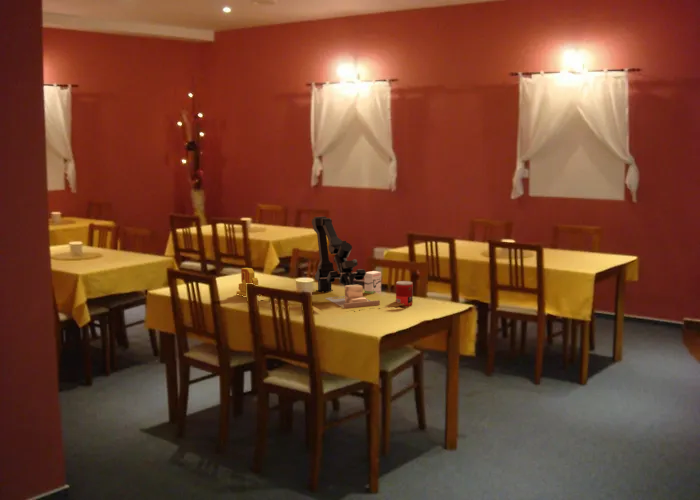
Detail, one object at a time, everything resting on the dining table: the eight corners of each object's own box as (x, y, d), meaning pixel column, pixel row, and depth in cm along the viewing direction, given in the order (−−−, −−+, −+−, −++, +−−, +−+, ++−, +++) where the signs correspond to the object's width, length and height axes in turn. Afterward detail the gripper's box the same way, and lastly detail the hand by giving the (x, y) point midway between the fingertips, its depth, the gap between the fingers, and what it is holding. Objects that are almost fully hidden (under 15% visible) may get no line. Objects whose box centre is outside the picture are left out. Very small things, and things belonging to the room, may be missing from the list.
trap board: (324, 301, 371) (324, 298, 371) (358, 297, 378) (358, 294, 378) (338, 308, 355) (338, 305, 355) (373, 304, 362) (373, 301, 362)
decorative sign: (263, 300, 373) (263, 270, 371) (258, 301, 371) (258, 271, 369) (241, 294, 388) (240, 265, 386) (236, 295, 386) (235, 266, 384)
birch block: (344, 302, 362) (344, 285, 361) (358, 300, 364) (358, 284, 363) (353, 306, 353) (353, 289, 352) (366, 304, 355) (366, 288, 354)
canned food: (411, 307, 357) (411, 284, 356) (394, 306, 359) (394, 283, 357) (413, 303, 365) (413, 281, 363) (397, 302, 366) (397, 280, 365)
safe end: (338, 308, 355) (338, 301, 354) (373, 304, 362) (373, 297, 362) (344, 311, 349) (344, 303, 348) (379, 307, 356) (379, 300, 355)
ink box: (371, 296, 381) (372, 273, 379) (363, 295, 384) (364, 272, 382) (381, 294, 388) (381, 271, 386) (373, 292, 391) (373, 270, 389)
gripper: (329, 255, 361) (337, 281, 353) (364, 252, 369) (374, 278, 360) (323, 268, 370) (331, 295, 361) (357, 266, 377) (367, 291, 369)
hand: (351, 289), depth 363 cm, fingers closed
